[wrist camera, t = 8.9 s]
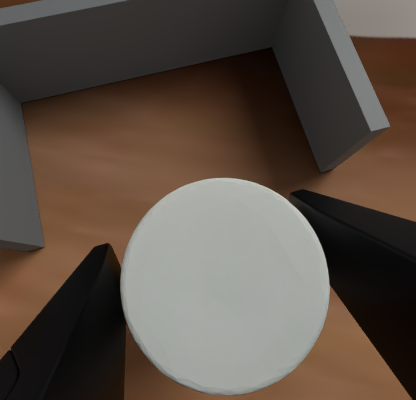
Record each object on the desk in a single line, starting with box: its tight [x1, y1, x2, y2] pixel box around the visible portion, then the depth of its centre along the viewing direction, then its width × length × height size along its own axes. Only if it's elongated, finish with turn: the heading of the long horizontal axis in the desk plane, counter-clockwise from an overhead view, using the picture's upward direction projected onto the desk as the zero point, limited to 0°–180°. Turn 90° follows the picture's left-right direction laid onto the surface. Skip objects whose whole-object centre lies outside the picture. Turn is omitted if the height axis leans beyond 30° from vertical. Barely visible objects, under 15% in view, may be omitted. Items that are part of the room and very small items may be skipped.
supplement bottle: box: [120, 178, 330, 395], centre depth 10 cm, size 5×5×10 cm
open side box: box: [0, 0, 390, 252], centre depth 17 cm, size 11×20×6 cm, turn 106°
